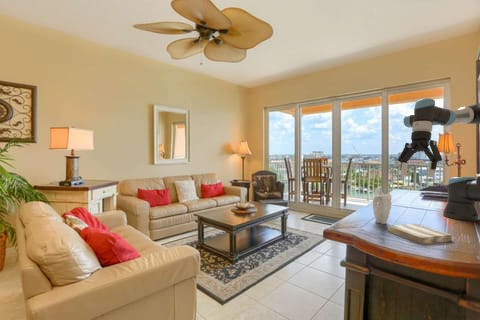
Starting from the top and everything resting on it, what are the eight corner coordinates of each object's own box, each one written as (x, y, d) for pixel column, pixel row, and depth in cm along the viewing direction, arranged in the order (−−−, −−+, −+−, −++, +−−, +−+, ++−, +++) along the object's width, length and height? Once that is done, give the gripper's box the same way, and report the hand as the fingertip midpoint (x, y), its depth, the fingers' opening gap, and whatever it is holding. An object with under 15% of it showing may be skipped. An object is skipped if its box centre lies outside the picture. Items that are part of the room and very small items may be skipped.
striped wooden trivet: (415, 228, 116) (415, 223, 116) (451, 240, 100) (451, 234, 100) (387, 231, 112) (387, 225, 112) (420, 244, 96) (420, 237, 96)
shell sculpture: (391, 226, 120) (391, 190, 119) (372, 223, 124) (372, 188, 123) (390, 222, 127) (391, 188, 126) (372, 219, 131) (373, 186, 130)
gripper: (392, 133, 125) (387, 174, 124) (442, 125, 101) (436, 176, 99) (405, 136, 126) (400, 176, 125) (456, 129, 102) (450, 179, 101)
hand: (416, 176), depth 112 cm, fingers open, 13 cm apart
